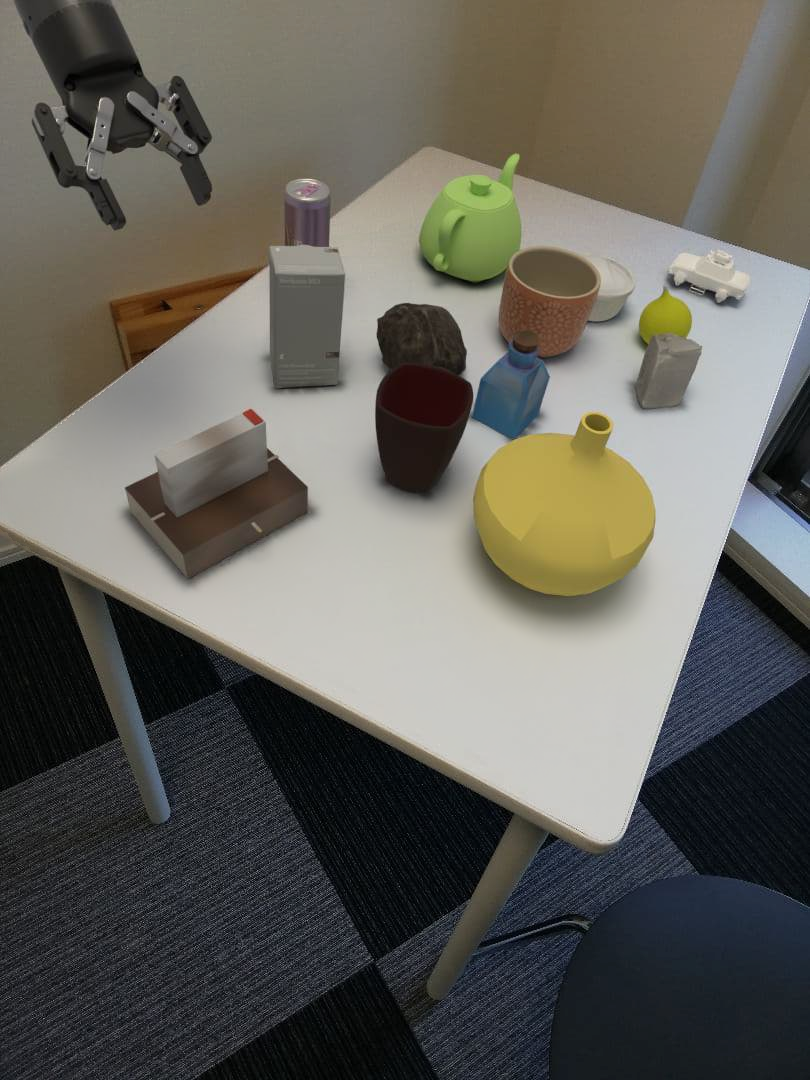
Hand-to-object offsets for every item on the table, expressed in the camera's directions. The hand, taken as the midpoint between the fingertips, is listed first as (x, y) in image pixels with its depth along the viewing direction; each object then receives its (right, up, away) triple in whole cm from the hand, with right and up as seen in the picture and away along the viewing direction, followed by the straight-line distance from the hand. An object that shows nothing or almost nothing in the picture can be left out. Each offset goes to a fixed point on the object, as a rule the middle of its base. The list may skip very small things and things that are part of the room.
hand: (164, 214), depth 69 cm
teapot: (+32, +14, +51) cm, 62 cm away
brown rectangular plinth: (+2, -26, +13) cm, 30 cm away
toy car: (+69, +10, +53) cm, 87 cm away
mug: (+23, -21, +21) cm, 38 cm away
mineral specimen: (+55, -9, +35) cm, 66 cm away
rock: (+24, -7, +33) cm, 41 cm away
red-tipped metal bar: (+2, -24, +10) cm, 26 cm away
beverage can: (+8, +6, +41) cm, 42 cm away
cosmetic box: (+9, -8, +30) cm, 32 cm away
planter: (+40, -1, +39) cm, 56 cm away
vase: (+37, -31, +15) cm, 50 cm away
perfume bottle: (+34, -14, +28) cm, 47 cm away
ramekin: (+49, +6, +46) cm, 68 cm away
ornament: (+58, -1, +42) cm, 71 cm away
